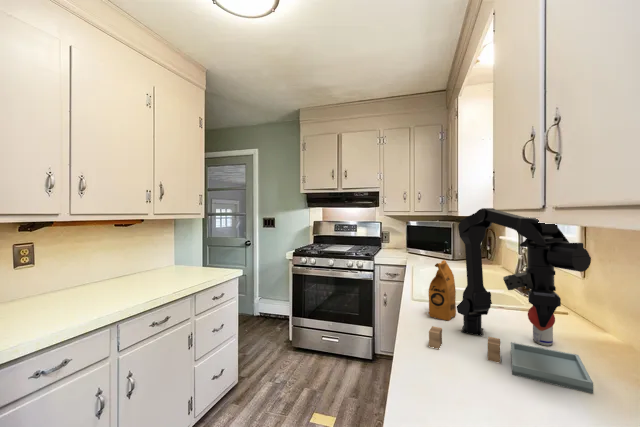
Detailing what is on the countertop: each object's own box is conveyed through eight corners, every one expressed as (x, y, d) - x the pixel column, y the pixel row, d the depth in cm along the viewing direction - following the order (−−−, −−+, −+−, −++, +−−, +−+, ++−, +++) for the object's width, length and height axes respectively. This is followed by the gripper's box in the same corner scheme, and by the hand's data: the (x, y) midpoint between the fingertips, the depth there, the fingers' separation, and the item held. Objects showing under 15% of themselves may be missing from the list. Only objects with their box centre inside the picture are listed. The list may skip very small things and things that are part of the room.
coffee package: (424, 316, 118) (423, 262, 118) (435, 308, 128) (434, 258, 128) (450, 322, 112) (449, 265, 112) (459, 313, 121) (458, 260, 121)
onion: (546, 327, 81) (545, 298, 81) (560, 335, 75) (560, 304, 75) (523, 326, 82) (523, 297, 82) (536, 334, 76) (535, 303, 76)
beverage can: (556, 347, 91) (556, 298, 91) (538, 345, 92) (537, 298, 92) (547, 340, 96) (546, 294, 96) (529, 339, 97) (529, 293, 97)
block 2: (488, 353, 87) (488, 336, 87) (500, 355, 86) (500, 338, 86) (487, 360, 83) (487, 342, 83) (500, 363, 82) (500, 345, 82)
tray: (510, 350, 89) (510, 342, 89) (578, 363, 80) (578, 354, 80) (512, 374, 76) (512, 364, 76) (593, 393, 67) (593, 382, 67)
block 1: (432, 341, 96) (432, 326, 96) (442, 343, 94) (441, 327, 94) (429, 347, 92) (428, 331, 92) (439, 349, 90) (439, 333, 90)
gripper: (505, 258, 91) (506, 308, 91) (504, 267, 75) (505, 328, 75) (550, 261, 85) (551, 315, 85) (560, 271, 69) (561, 338, 69)
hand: (541, 323), depth 78 cm, fingers closed on onion, 6 cm apart
